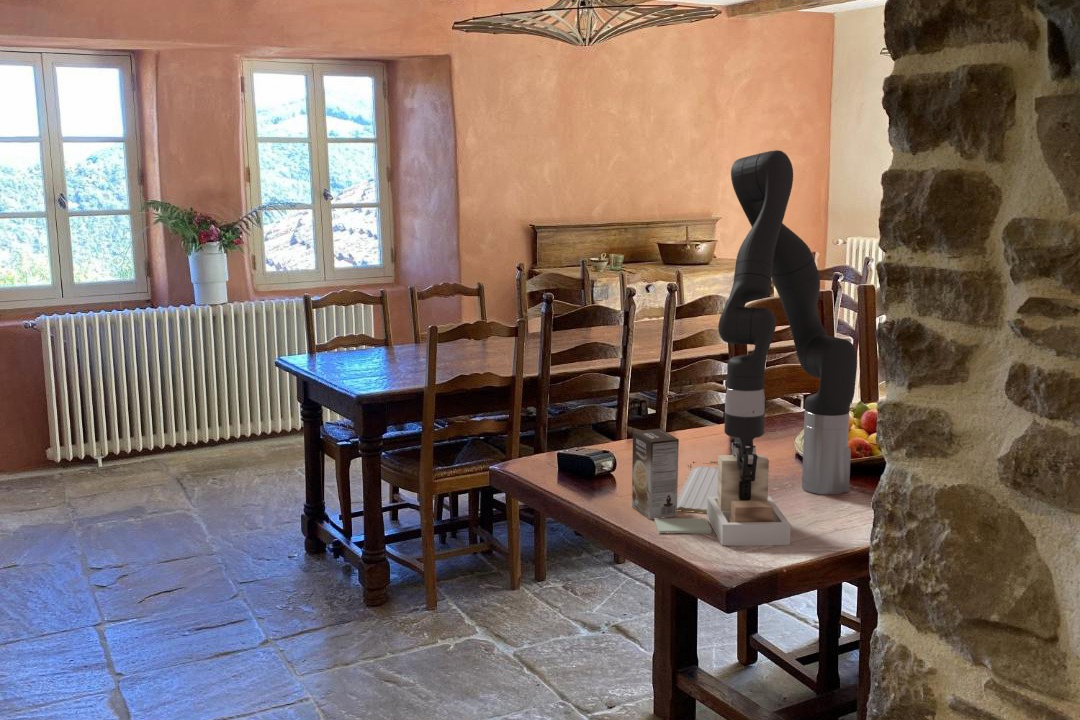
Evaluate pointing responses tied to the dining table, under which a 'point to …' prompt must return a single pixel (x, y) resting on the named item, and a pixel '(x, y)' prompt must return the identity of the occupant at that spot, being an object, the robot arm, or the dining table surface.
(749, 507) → the walnut offcut upper
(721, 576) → the dining table surface
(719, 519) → the white open tray
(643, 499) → the coffee box
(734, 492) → the pale wood block
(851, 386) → the robot arm
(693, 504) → the baseboard molding
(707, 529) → the felt mat
